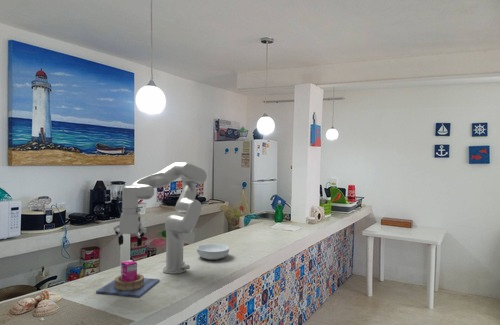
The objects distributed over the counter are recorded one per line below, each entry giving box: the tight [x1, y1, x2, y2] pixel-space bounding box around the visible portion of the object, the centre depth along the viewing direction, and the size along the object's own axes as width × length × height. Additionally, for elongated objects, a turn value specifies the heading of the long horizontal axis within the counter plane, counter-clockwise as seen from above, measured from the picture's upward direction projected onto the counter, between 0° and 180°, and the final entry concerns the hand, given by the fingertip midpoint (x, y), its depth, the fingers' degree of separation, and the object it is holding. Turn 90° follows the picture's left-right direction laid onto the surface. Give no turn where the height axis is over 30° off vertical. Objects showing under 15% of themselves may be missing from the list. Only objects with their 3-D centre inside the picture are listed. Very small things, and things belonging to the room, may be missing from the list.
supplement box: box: [120, 259, 138, 282], centre depth 182 cm, size 6×6×12 cm
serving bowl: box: [196, 243, 230, 261], centre depth 236 cm, size 21×21×7 cm
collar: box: [95, 273, 161, 298], centre depth 182 cm, size 22×22×4 cm
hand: (130, 245), depth 183 cm, fingers open, 9 cm apart
